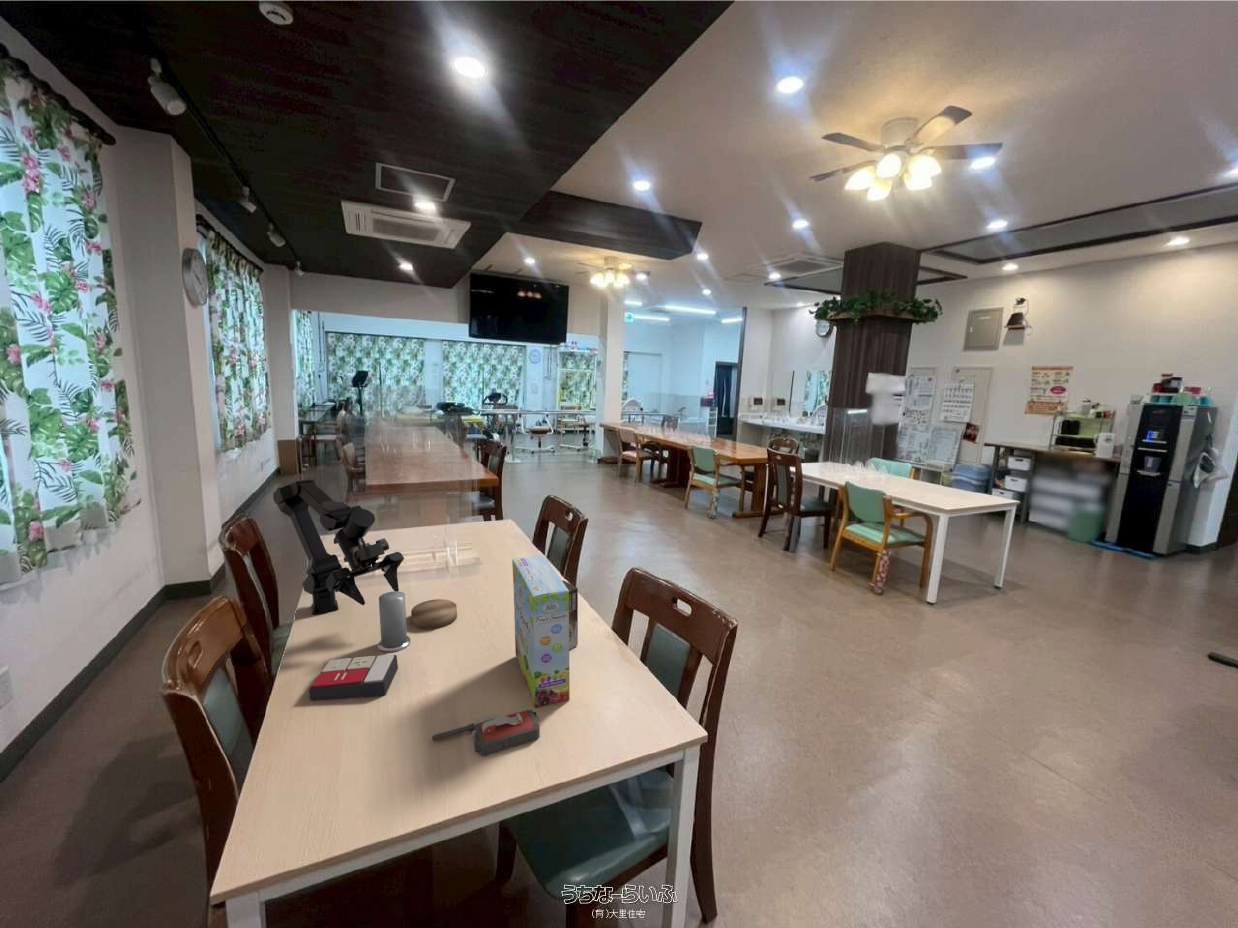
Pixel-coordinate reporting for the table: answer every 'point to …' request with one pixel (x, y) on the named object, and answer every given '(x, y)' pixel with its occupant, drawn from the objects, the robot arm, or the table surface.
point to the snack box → (541, 629)
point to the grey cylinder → (393, 622)
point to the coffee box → (573, 614)
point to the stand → (434, 614)
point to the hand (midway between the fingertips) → (381, 597)
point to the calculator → (355, 678)
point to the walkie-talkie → (499, 731)
